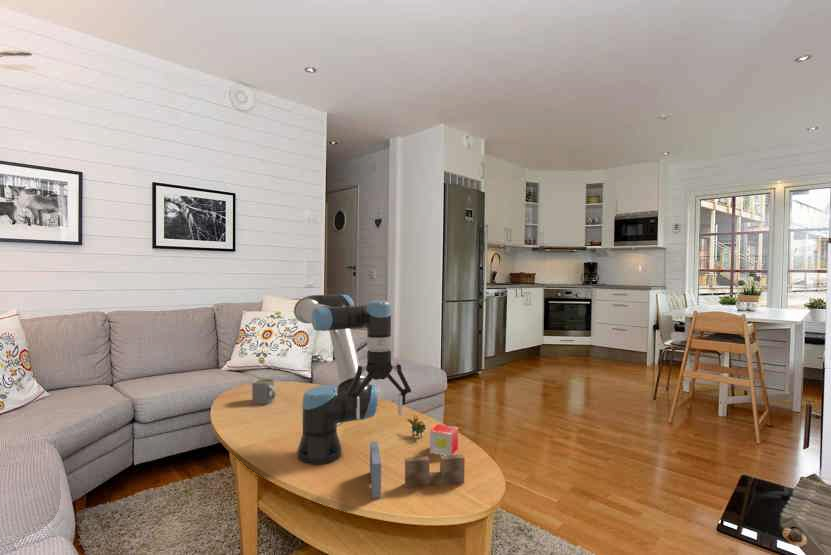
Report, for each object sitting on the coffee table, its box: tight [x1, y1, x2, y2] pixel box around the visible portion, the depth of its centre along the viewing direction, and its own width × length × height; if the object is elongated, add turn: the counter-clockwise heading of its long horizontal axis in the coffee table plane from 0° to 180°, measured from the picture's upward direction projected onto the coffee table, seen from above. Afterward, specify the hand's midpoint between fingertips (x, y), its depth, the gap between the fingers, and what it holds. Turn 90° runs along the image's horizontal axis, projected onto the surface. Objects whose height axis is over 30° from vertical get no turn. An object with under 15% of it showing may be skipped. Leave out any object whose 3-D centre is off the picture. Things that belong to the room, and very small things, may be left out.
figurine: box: [406, 414, 427, 440], centre depth 171 cm, size 3×12×8 cm, turn 37°
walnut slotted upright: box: [404, 454, 466, 489], centre depth 134 cm, size 18×2×8 cm, turn 99°
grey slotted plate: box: [369, 440, 382, 499], centre depth 133 cm, size 2×16×10 cm, turn 9°
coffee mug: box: [251, 378, 277, 405], centre depth 211 cm, size 13×10×10 cm
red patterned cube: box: [429, 423, 459, 456], centre depth 158 cm, size 8×8×8 cm
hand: (379, 416), depth 139 cm, fingers open, 13 cm apart
